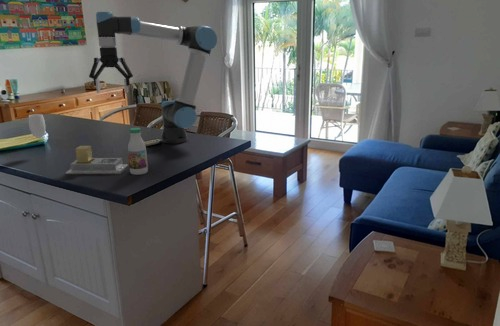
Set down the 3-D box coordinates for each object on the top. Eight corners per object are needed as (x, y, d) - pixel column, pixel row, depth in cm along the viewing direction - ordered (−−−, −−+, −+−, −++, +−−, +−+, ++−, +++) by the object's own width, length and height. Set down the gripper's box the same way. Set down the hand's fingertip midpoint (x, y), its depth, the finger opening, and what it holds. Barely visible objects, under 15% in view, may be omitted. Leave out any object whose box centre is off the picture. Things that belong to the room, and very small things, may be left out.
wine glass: (35, 158, 200) (27, 117, 194) (33, 154, 206) (26, 114, 200) (51, 155, 204) (44, 115, 198) (49, 152, 210) (42, 113, 204)
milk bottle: (132, 170, 182) (127, 126, 176) (149, 169, 183) (145, 126, 177) (128, 175, 175) (123, 130, 169) (146, 175, 176) (142, 130, 169)
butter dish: (128, 165, 189) (127, 157, 187) (119, 173, 177) (118, 165, 176) (77, 165, 189) (75, 157, 188) (65, 174, 178) (64, 165, 176)
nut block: (93, 166, 185) (91, 145, 182) (89, 170, 181) (86, 148, 177) (82, 166, 185) (80, 145, 182) (78, 170, 181) (75, 148, 178)
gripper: (136, 46, 191) (140, 91, 198) (84, 46, 191) (90, 91, 198) (132, 47, 184) (136, 93, 190) (78, 47, 184) (84, 93, 191)
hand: (113, 92), depth 194 cm, fingers open, 13 cm apart
